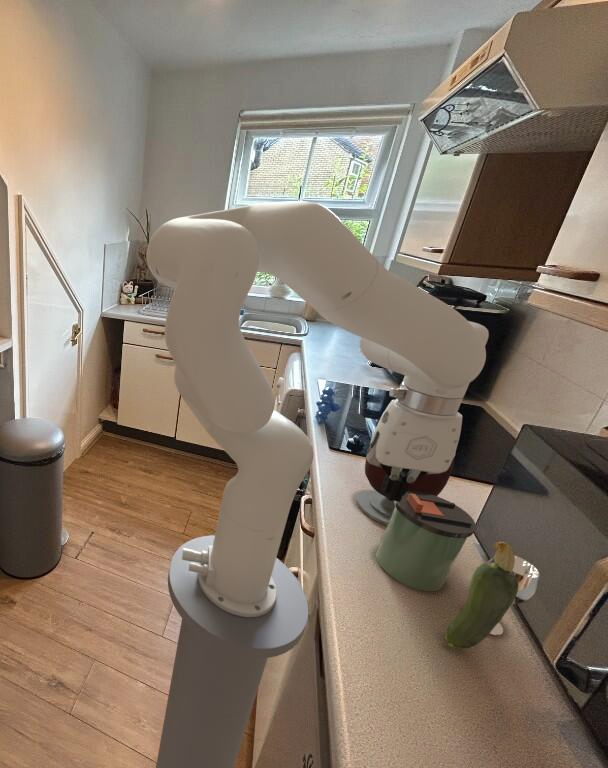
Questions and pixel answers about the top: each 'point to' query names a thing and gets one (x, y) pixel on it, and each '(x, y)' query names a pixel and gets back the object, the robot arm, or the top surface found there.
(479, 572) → the vegetable
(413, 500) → the shutter
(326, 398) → the grapes
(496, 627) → the wineglass
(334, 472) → the top surface
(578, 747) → the top surface
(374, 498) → the mate gourd
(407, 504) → the travel mug
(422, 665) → the top surface
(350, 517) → the top surface
